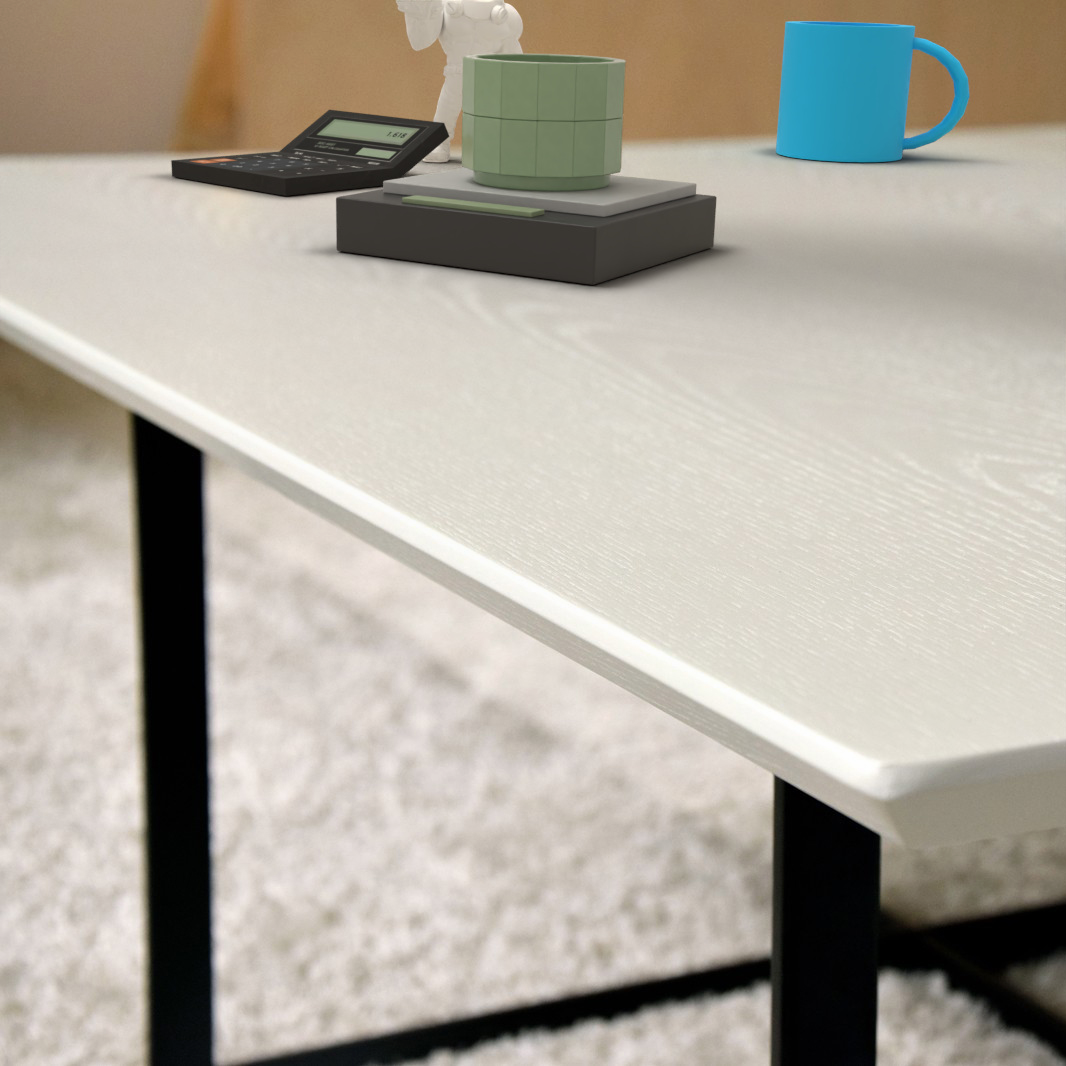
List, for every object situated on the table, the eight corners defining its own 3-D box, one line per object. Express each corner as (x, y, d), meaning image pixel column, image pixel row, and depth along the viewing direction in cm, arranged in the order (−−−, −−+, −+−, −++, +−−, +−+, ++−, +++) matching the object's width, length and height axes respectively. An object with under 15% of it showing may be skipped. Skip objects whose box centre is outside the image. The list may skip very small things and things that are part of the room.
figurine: (418, 170, 93) (418, -53, 89) (371, 160, 97) (369, -54, 93) (561, 161, 99) (567, -49, 95) (511, 152, 102) (515, -50, 98)
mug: (775, 158, 103) (785, 24, 101) (775, 145, 111) (785, 20, 108) (969, 167, 102) (984, 30, 99) (956, 153, 109) (970, 26, 107)
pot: (647, 181, 70) (653, 59, 68) (571, 197, 64) (575, 65, 62) (515, 168, 73) (517, 51, 71) (431, 183, 67) (431, 56, 65)
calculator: (172, 176, 87) (169, 119, 86) (335, 161, 96) (334, 109, 95) (285, 195, 82) (284, 134, 81) (448, 178, 90) (449, 122, 89)
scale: (714, 247, 70) (718, 184, 69) (593, 285, 61) (596, 213, 60) (477, 219, 76) (479, 160, 75) (335, 251, 67) (334, 184, 66)
